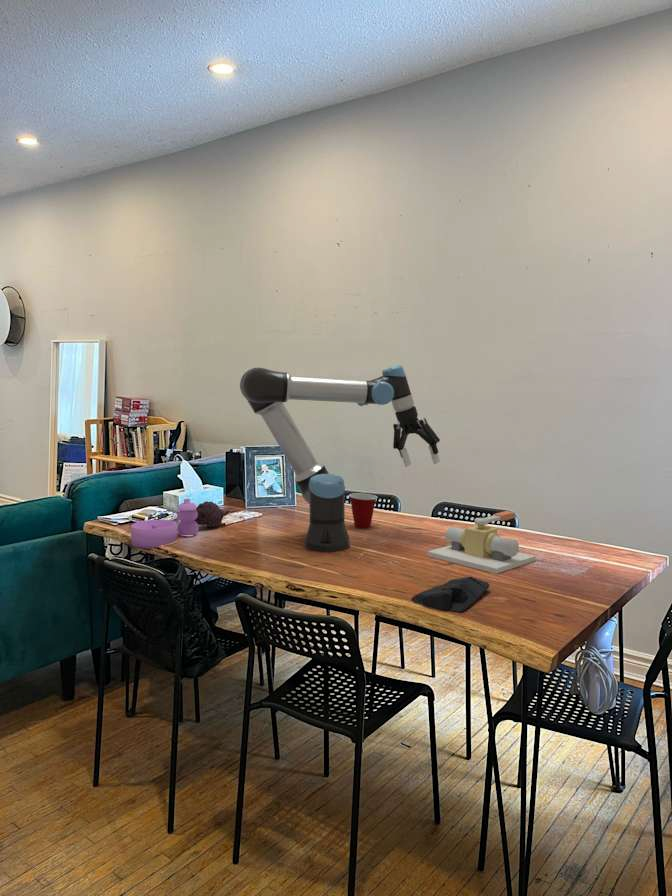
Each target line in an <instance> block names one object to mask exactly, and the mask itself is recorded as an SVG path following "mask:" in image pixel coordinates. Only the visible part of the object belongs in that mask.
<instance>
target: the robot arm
mask: <svg viewBox="0 0 672 896" xmlns="http://www.w3.org/2000/svg"><path fill="white" fill-rule="evenodd" d="M381 373H382V375H381V376H380V377H377V378H374V379H372V380H362V379H360V380H359V379H346V378H345V379H344V378H331V377H330V378H329V377H315V376H313V377H312V376H298V375H297V376H295V375H290V374H289V373H288V372H283V371H277V370H276V371H275V370H271V369H269V368H264V367H253V368H250V369H248V370H247V371H246V372H244V374H243V375H242V376H241V378H240V382H239V388H240V389H239V390H240V393H241V394H242V396H243V397H244V398H245V399H246V401H247V403H248V405H250V408H251V409H252V411H253V412H254V414H256V415H260V416H261V418H262V419H263V421H264V422H265V424H266V426H267V428H268V429H269V431H270V433H271V434H272V436H273V437H274V440H275V441H276V443H277V445H278V446H279V448H280V450H281V451H282V453H283V455H284V457H285V458H286V461H287V462H288V464H289V465H290V466H291V469H292V470H293V472H294V473H295V477H294V482H295V484H296V485H297V487H298V489H299V491H300V493H301V496H302V498H303V499H304V501H306V503H308V504H309V524H308V528H307V532H306V535H305V538H304V548H306V549H307V550H310V551H316V552H337V551H343V550H346V549H348V548H349V547H351V539H350V537H349V533H348V530H347V529H348V528H347V526H346V524H345V515H346V514H345V513H346V511H345V490H346V486H345V481H344V479H343V477H341V476H340V475H336V474H333V473H332V474H331V473H329V471H328V470H327V468H326V466H325V464H324V463H322V462H318V461H317V459H316V458H315V456H314V454H313V452H312V451H311V449H310V446H309V445H308V444H307V442H306V440H305V439H304V437H303V435H302V433H301V432H300V430H299V428H298V426H297V424H296V423H295V421H294V420H293V418H292V416H291V413H290V412H289V411H288V409H287V408H286V406H285V404H284V403H287V402H288V401H289V400H295V401H311V402H312V401H317V402H332V403H334V402H336V403H337V402H338V403H352V404H354V403H355V404H357V405H358V406H360V407H363V406H368V405H370V404H373V405H379V406H381V405H382V406H384V405H387V404H389V403H391V406H392V408H393V411H394V412H395V417H396V420H397V422H396V423H393V444H392V445H393V447H392V448H393V449H394V450H396V449H397V450H398V452H399V455H400V457H401V458H402V461H403V463H404V467H409V466H411V465H412V462H411V459H410V456H409V455H410V454H409V453H408V449H407V447H405V444H406V441H407V439H408V436H409V435H411V434H413V435H414V434H416V435H418V436H419V438H421V439H422V440H423V441H425V443H427V445H429V446H428V450H429V453H430V456H431V460H432V462H433V463H432V464H433V465H436V464H437V463H439V462H440V461H441V460H440V457H439V450H438V445H437V444H438V443H440V442H441V439H440V438H439V437H438V434H436V432H435V431H434V430H433V428H432V427H431V426H430V425H429V423H428V421H427V419H426V418H425V417H423V418H421V419H419V417H418V415H419V414H418V411H417V407H416V406H415V401H414V398H413V396H412V395H413V394H412V392H411V389H410V385H409V382H408V378H407V375H406V372H405V369H404V367H403V366H402V365H401V364H396V365H393V366H392V365H391V366H389V367H386V368H385V369H382V371H381Z"/></svg>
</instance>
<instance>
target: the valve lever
mask: <svg viewBox="0 0 672 896" xmlns="http://www.w3.org/2000/svg"><path fill="white" fill-rule="evenodd" d="M515 518H516V511H508V510H505V511H501V512H496V513H493V515H491V516H490V515H489V516H487V517H476V518H475V517H474V524H475V526H477V525H485V526H487V525H489V524H490V523H492V522H493V523H494V522H496V521H498V522H499V521H500V522H504V521H507V520H512V519H515Z"/></svg>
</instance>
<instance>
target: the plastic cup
mask: <svg viewBox="0 0 672 896" xmlns="http://www.w3.org/2000/svg"><path fill="white" fill-rule="evenodd" d="M348 497H349V501H350V504H351V506H350V507H351V511H352V517H353V523H354V527H355V528H357V529H358V528H359V529H366V528H367V527H368V528H371V525H372V519H373V515H374V510H375V503H377V502H376V501H377V499H378V496H377V495H374V494H369V493H359V492H357V493H356V492H355V493H350V494H348Z"/></svg>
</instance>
